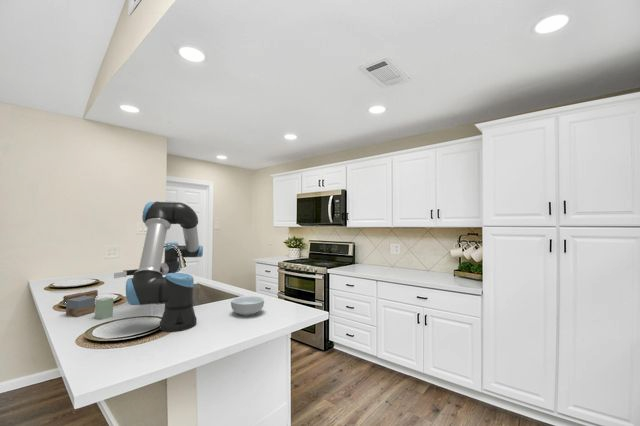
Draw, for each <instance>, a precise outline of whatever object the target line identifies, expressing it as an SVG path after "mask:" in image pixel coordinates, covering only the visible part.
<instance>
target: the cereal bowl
mask: <svg viewBox="0 0 640 426" xmlns="http://www.w3.org/2000/svg"><path fill="white" fill-rule="evenodd" d="M264 305H265V300H264V297H260V296H255V295H254V296H253V295H252V296H251V295H250V296H249V295H247V296H246V295H245V296H239V297H235V298H232V299H231V301H230V307H231V309H232V311H234V313H237V314H239V315H241V316H246V317H247V316H253V315H255V314H256V313H258V312H260V311H261V310H262V309H263V308H264Z"/></svg>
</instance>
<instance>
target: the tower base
mask: <svg viewBox="0 0 640 426" xmlns="http://www.w3.org/2000/svg"><path fill="white" fill-rule="evenodd" d="M65 308H66V307H65ZM91 314H95V305H94V306H90V307H86V308H82V309H78V310H77V309H70V308H66V309H65V317H72V318H80V317H84V316H87V315H91Z"/></svg>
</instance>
